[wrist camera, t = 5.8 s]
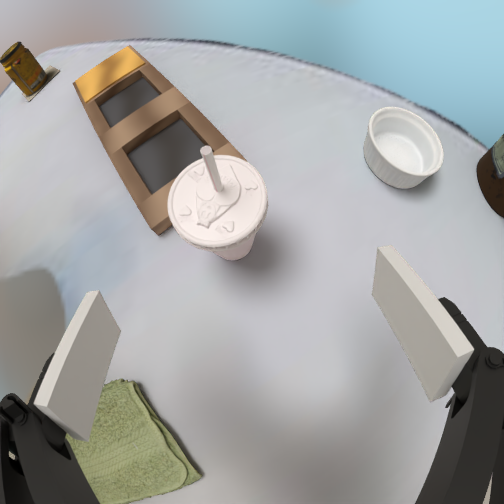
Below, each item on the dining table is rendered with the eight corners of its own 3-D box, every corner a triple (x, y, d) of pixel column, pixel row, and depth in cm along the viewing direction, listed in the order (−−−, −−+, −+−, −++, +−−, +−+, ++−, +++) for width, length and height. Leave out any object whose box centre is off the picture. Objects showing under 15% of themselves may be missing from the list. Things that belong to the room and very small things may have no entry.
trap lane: (158, 235, 27) (149, 228, 25) (77, 90, 34) (71, 82, 32) (248, 171, 28) (247, 159, 26) (133, 53, 35) (129, 43, 33)
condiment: (22, 94, 37) (-6, 61, 25) (50, 65, 38) (26, 30, 27) (29, 102, 36) (-2, 66, 24) (60, 71, 37) (34, 32, 25)
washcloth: (210, 472, 22) (204, 487, 18) (101, 506, 20) (89, 517, 17) (134, 367, 25) (119, 371, 21) (41, 422, 23) (25, 427, 20)
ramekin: (370, 196, 27) (385, 176, 23) (349, 128, 29) (357, 104, 25) (436, 192, 27) (455, 175, 23) (411, 129, 29) (424, 108, 25)
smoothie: (277, 221, 27) (285, 126, 13) (253, 285, 26) (239, 241, 12) (214, 200, 28) (175, 103, 14) (188, 261, 26) (118, 200, 13)
